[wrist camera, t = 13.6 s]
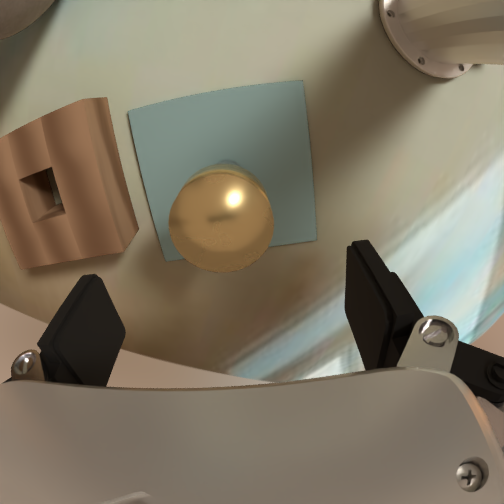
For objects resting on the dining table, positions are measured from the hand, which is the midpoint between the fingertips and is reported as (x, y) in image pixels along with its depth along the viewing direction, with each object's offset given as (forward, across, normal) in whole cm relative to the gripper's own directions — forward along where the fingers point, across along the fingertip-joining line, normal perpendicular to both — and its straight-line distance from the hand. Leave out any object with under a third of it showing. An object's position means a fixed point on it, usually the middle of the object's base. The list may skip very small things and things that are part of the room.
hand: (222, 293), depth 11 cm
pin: (+19, +1, +1) cm, 19 cm away
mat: (+19, +1, +1) cm, 19 cm away
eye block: (+19, +18, -2) cm, 26 cm away
